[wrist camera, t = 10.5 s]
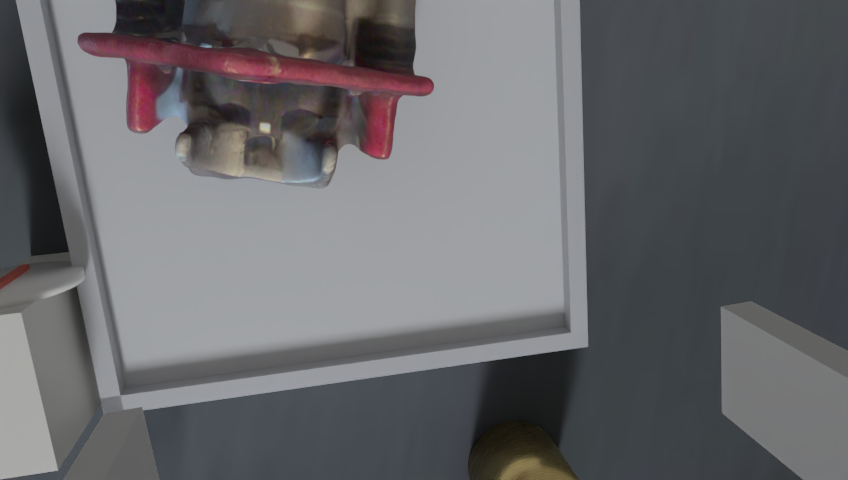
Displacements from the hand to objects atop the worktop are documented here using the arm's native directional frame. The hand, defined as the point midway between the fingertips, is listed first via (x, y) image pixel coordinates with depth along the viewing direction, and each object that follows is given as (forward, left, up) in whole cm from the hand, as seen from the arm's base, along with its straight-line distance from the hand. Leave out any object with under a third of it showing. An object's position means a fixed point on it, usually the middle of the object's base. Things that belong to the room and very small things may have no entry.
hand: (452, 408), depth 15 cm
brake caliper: (-4, +8, -15) cm, 18 cm away
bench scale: (-4, +5, -19) cm, 20 cm away
